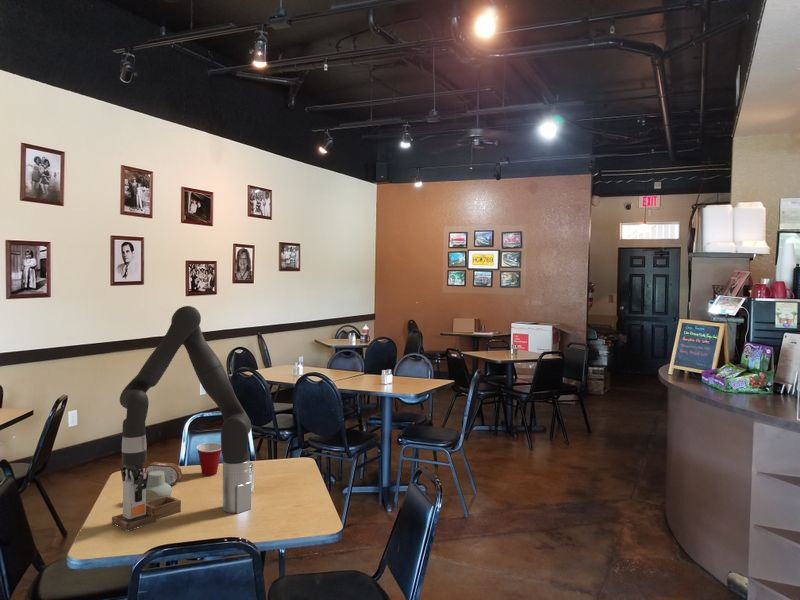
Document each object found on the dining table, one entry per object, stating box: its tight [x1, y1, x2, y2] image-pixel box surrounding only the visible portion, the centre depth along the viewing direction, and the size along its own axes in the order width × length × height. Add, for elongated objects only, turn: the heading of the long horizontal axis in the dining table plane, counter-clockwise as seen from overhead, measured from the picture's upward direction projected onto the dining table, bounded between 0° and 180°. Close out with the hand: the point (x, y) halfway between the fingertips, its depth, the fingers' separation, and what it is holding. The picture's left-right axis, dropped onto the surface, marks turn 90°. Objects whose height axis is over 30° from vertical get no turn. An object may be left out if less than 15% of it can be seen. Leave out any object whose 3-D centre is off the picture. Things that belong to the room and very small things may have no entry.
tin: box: [144, 461, 183, 486], centre depth 238 cm, size 15×3×8 cm, turn 81°
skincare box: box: [122, 479, 147, 519], centre depth 199 cm, size 6×4×12 cm
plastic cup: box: [196, 442, 222, 477], centre depth 250 cm, size 11×11×12 cm
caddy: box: [111, 495, 182, 532], centre depth 203 cm, size 10×20×4 cm, turn 143°
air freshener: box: [146, 471, 173, 502], centre depth 221 cm, size 11×8×10 cm
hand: (134, 499), depth 199 cm, fingers closed on skincare box, 4 cm apart
